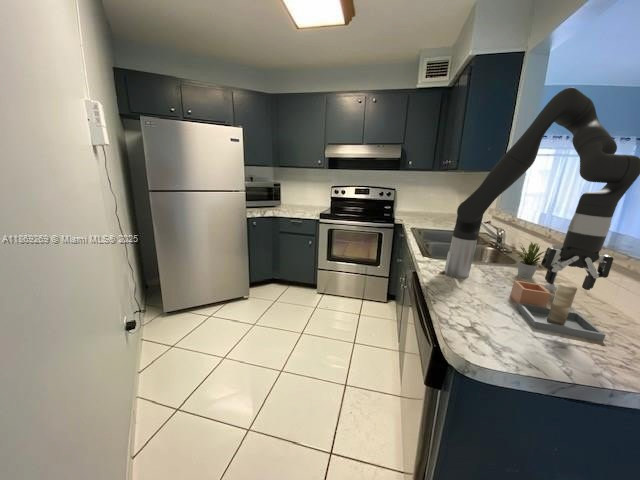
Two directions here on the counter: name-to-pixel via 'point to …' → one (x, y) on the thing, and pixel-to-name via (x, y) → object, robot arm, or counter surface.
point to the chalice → (552, 286)
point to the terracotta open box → (529, 293)
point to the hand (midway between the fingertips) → (567, 285)
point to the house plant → (529, 261)
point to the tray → (573, 325)
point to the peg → (561, 304)
